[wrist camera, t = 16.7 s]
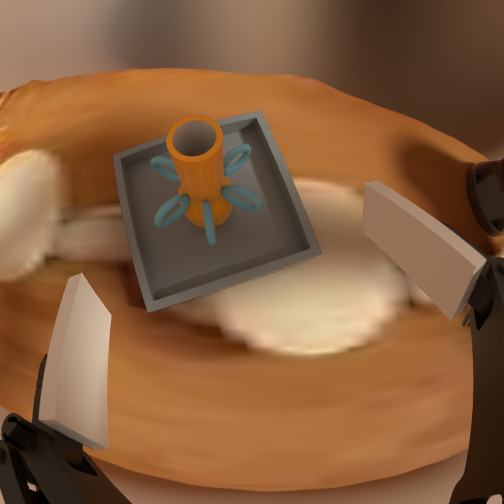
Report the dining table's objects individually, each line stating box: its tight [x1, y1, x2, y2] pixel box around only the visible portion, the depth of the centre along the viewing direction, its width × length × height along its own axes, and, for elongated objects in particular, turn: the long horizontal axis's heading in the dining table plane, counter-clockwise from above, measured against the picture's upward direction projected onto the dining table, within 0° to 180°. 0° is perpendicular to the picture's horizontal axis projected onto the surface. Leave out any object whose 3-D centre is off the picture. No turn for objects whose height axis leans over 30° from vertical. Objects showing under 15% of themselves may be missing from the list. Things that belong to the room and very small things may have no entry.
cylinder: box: [151, 116, 262, 245], centre depth 25 cm, size 12×10×15 cm
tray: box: [113, 110, 322, 313], centre depth 32 cm, size 20×20×4 cm
